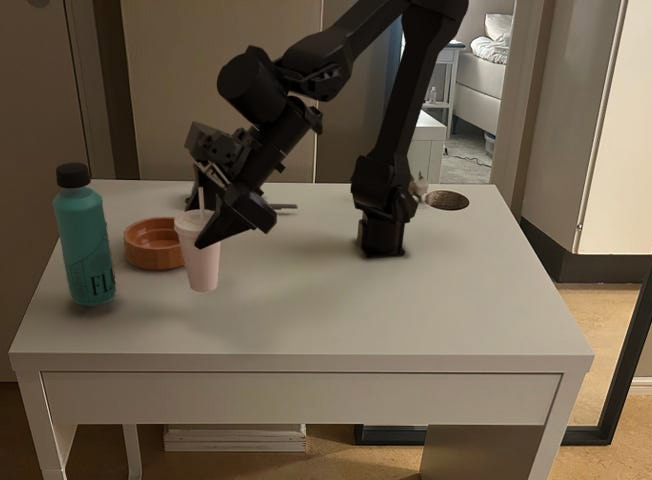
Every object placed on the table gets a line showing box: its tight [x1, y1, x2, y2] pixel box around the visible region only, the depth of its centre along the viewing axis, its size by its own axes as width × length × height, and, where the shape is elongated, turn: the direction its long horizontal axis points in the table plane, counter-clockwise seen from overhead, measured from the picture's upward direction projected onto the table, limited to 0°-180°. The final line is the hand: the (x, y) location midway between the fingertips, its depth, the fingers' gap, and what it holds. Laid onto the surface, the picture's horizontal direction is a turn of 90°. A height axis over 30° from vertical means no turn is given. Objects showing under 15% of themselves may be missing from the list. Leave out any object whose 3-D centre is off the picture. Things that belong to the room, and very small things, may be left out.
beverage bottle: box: [52, 161, 117, 307], centre depth 93 cm, size 6×7×20 cm
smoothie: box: [174, 187, 222, 293], centre depth 90 cm, size 6×6×14 cm
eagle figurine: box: [408, 170, 430, 203], centre depth 126 cm, size 8×7×9 cm
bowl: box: [123, 216, 185, 271], centre depth 109 cm, size 11×11×4 cm
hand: (189, 235), depth 90 cm, fingers closed on smoothie, 6 cm apart
